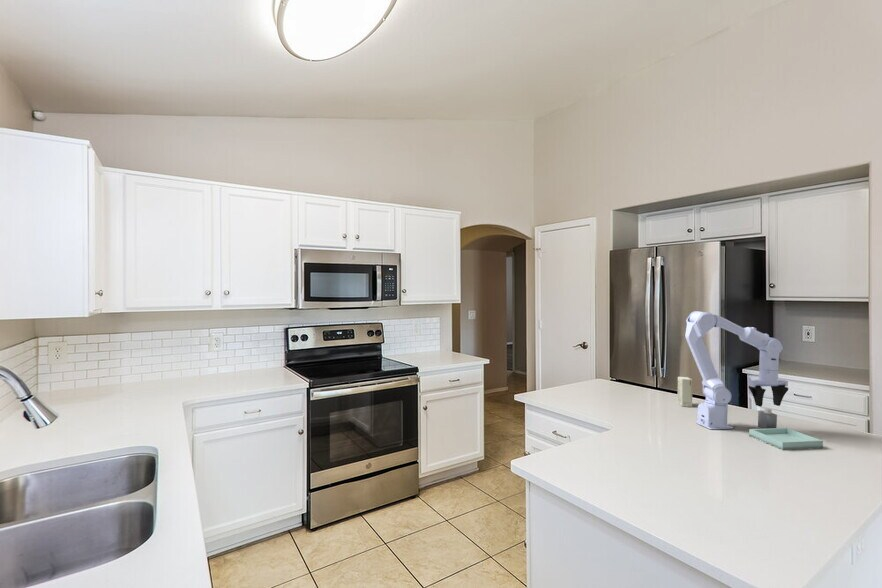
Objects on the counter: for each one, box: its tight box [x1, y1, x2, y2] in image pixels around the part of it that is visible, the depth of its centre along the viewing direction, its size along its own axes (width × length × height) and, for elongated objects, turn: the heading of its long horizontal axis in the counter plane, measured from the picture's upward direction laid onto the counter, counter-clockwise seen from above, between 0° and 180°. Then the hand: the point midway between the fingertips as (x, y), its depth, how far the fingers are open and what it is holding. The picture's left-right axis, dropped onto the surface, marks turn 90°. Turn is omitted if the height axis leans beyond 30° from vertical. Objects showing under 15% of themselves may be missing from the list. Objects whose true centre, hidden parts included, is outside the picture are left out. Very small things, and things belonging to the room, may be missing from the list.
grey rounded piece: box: [757, 407, 778, 429], centre depth 163 cm, size 4×6×8 cm, turn 8°
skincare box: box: [676, 376, 693, 408], centre depth 194 cm, size 6×4×12 cm
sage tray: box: [748, 427, 824, 451], centre depth 149 cm, size 15×13×2 cm
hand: (767, 405), depth 163 cm, fingers open, 7 cm apart
